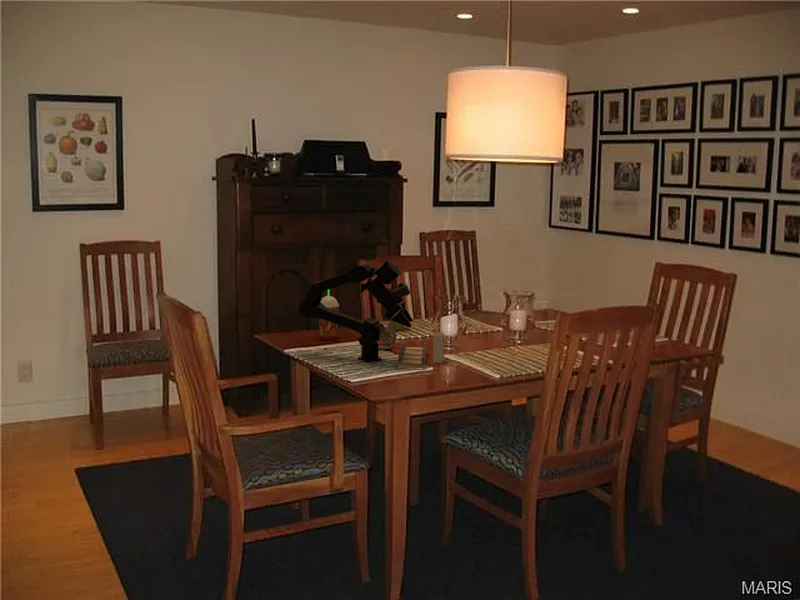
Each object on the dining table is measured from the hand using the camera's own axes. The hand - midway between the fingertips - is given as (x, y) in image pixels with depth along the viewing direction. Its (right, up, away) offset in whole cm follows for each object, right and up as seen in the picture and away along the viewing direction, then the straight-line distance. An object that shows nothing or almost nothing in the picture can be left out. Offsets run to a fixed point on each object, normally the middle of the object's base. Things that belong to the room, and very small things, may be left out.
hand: (411, 323), depth 306 cm
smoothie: (-32, -7, +35) cm, 48 cm away
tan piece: (+1, -13, +3) cm, 14 cm away
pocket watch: (-9, -10, +21) cm, 25 cm away
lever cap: (+10, -14, +2) cm, 17 cm away
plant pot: (-5, -4, +54) cm, 54 cm away
